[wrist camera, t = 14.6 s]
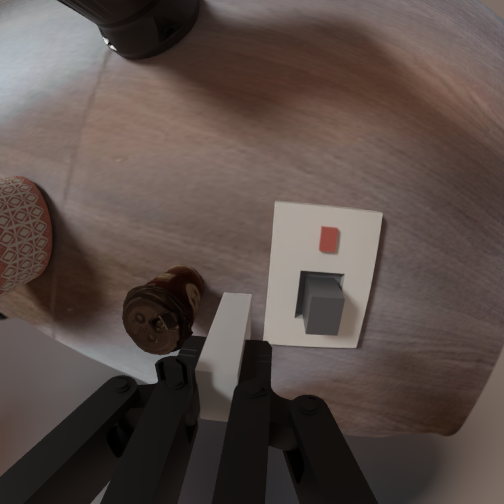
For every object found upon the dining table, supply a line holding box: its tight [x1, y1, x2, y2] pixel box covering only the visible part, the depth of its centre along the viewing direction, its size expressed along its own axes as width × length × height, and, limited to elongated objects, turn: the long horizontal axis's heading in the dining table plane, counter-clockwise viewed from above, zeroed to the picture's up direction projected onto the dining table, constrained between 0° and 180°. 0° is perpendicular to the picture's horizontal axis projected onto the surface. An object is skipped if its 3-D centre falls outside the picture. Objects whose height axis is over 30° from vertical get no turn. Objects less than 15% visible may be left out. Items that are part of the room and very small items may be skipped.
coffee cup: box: [122, 265, 203, 355], centre depth 36 cm, size 9×8×13 cm
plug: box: [301, 276, 345, 336], centre depth 37 cm, size 5×4×7 cm
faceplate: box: [263, 200, 383, 348], centre depth 39 cm, size 20×14×3 cm
